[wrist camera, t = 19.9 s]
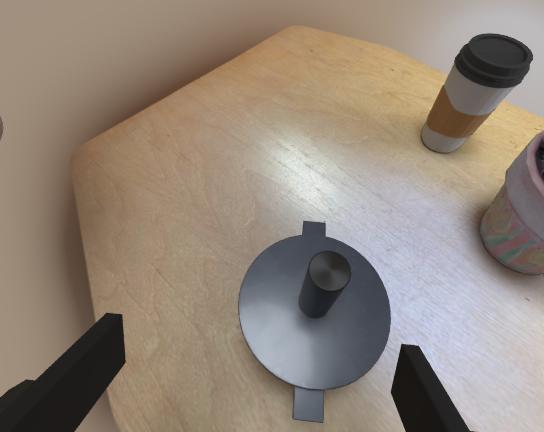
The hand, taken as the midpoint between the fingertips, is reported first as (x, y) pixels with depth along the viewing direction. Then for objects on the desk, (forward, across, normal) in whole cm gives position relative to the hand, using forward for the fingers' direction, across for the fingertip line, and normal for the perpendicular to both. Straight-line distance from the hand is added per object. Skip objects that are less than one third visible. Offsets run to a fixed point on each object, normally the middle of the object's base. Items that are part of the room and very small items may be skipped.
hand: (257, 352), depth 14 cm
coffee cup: (+41, +25, +11) cm, 49 cm away
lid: (+12, +4, -5) cm, 14 cm away
